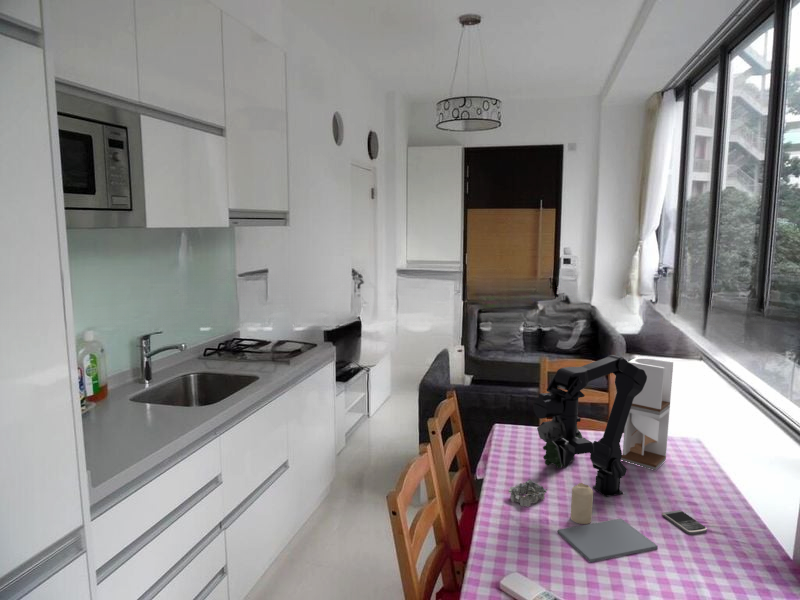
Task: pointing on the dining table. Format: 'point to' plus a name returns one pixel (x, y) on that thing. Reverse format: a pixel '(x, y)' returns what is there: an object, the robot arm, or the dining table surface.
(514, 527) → the dining table surface
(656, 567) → the dining table surface
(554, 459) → the toy figurine
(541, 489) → the grey jagged ring-shaped piece
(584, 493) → the candle
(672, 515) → the cell phone
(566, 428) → the robot arm
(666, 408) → the display case
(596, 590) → the dining table surface
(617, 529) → the rubber mat
